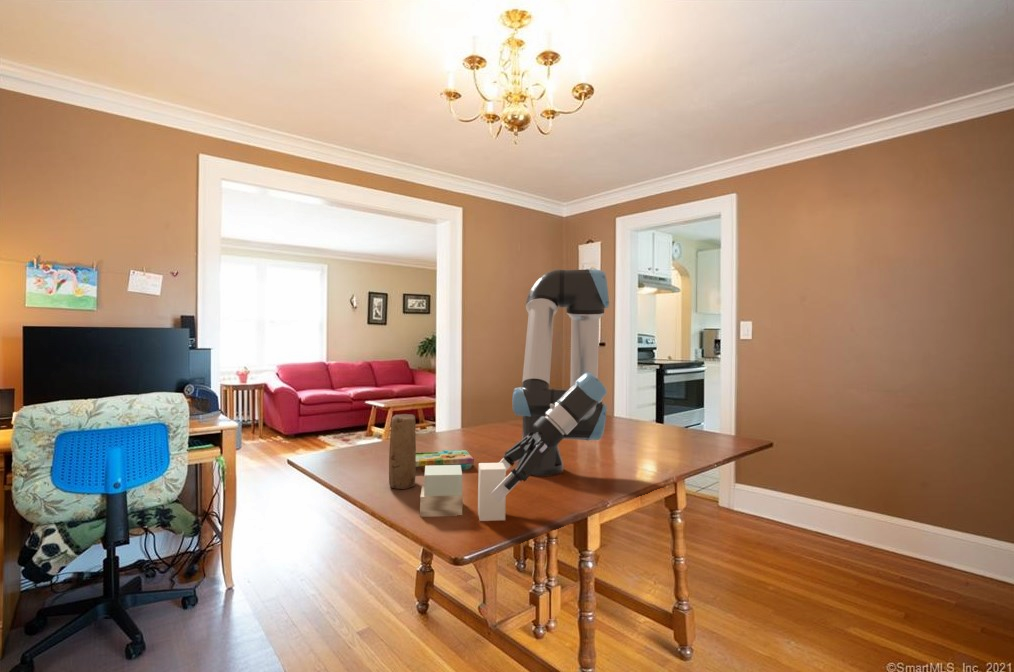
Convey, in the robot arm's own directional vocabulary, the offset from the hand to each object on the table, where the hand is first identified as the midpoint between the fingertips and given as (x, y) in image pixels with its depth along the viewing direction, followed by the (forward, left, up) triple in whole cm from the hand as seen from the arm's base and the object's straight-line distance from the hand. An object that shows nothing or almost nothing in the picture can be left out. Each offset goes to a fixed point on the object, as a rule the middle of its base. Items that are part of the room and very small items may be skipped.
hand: (491, 488), depth 119 cm
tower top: (+12, -6, -2) cm, 13 cm away
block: (+23, -27, -7) cm, 36 cm away
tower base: (+12, -6, -7) cm, 15 cm away
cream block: (0, 0, -7) cm, 7 cm away
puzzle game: (+12, -46, -7) cm, 48 cm away
